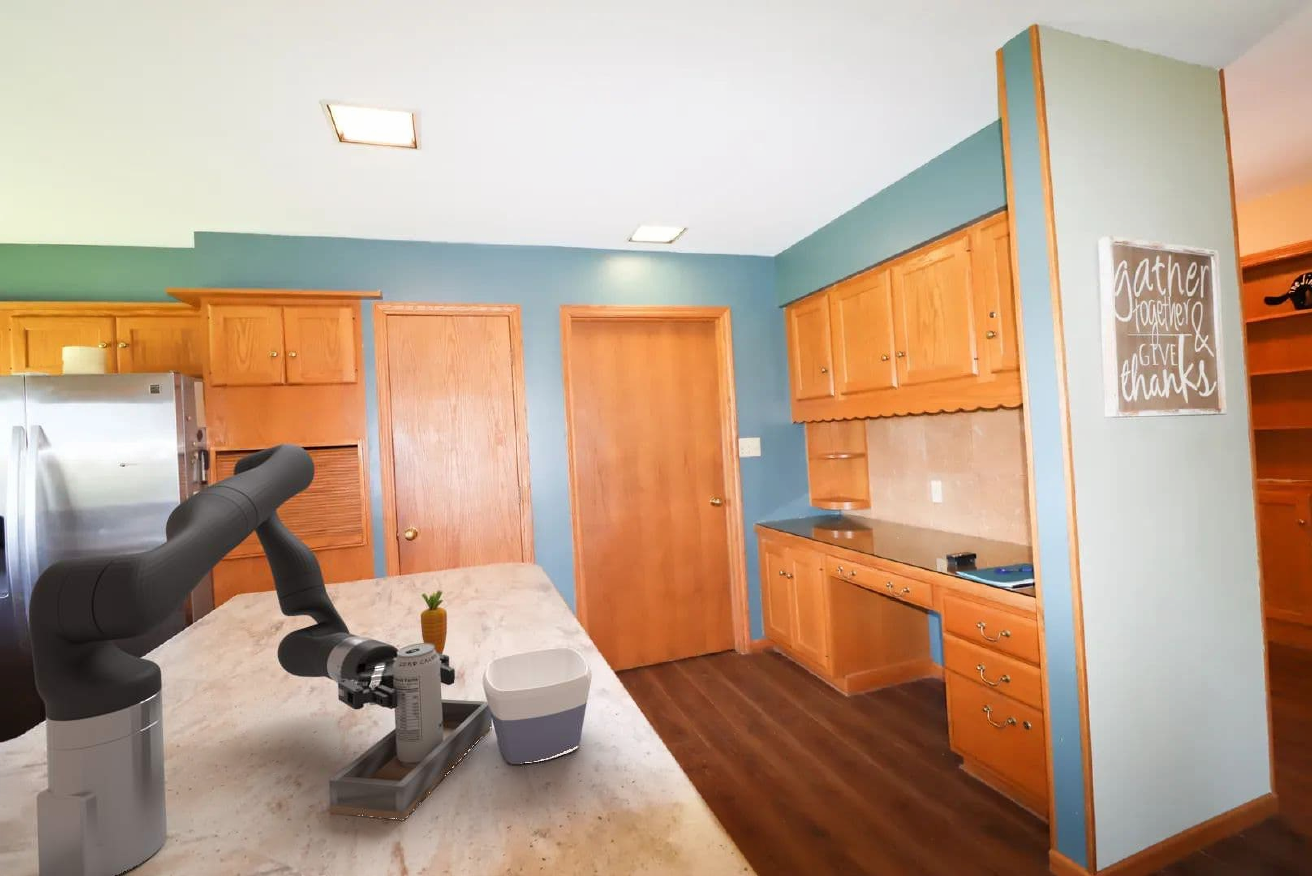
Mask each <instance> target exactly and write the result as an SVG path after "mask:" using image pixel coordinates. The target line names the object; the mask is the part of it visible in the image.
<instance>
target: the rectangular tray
mask: <svg viewBox="0 0 1312 876" xmlns="http://www.w3.org/2000/svg"><path fill="white" fill-rule="evenodd" d="M442 719H443V740H444V741H443V742H442V743H441V744H440V745H439V746H438V747H436V748H435V749H434V750H433V751H432V752H431V753H430V754H429V755H428V756H427V757H426V758H425V759H424V760H423V761H422V762H421V763H420V764H418V765H417V766H416V767H406V766H404V765H403V764H402V761H400V760H399V759H398V758H397V747H396V727H395V728H394V729H393V730H391V731H390V732H388V733H387V734H386V735H385V736H384V737H383V738H381V739H380V740H378V741H377V742H376V743H375V744H374V745H372V746H370V748H369V749H368V750H366V751H365V752H364V753H362V754H361V755H360V756H358V757H357V758H356V759H354V761H352V762H351V763H350V764H348V765H347V766H345V768H344V769H341V770H340V772H338V773H336V775H334V776H333V777H331V779H329V781H328V783H329V809H330V810H329V812H330V814H332V815H339V816H340V815H342V816H350V815H360V816H359V817H361V816H362V815H363V816H373V817H381V818H380V819H382V818H395V819H396V818H397V819H405V818H406V817H407V816H408V815H409V814H410V813H411V812H412V811H413V809H415V807H416V806H417V805H419V803H420V802H421V801H422V800H423V799H424V798H425V797H426V796H427V795H428V794H429V792H431V791H432V789H434V788H435V787H436V785H438V786H439V784H440V783H441V782H442V781H443V780H444V779H445V778H446V777H445V775H447V773H448V772H449V771H450V770H451V769H452V767H453V766H455V765H456V763H457V762H458V761H459V760H460V759H461V758H462V757H463V756H464V754H465V753H467V752H468V750H469V749H471V748H472V746H473V745H475V743H476V742H477V741H478V740H479V739H480V738H481V737H482V736H484V734H485V733H486V732H487V731H488V730H489V729H490V727H492V728H493V721H492V717H491V713H490V709H489V706H488V702H487V701H485V700H484V701H479V700H461V699H460V700H459V699H445V698H444V699H443V698H442ZM490 730H491V729H490ZM490 730H489V731H490ZM489 731H488V732H489ZM488 732H487V733H488ZM487 733H486V734H487ZM486 734H485V735H486ZM484 737H485V736H484ZM475 746H476V745H475ZM472 749H473V748H472ZM472 749H471V750H472ZM456 766H457V765H456ZM456 766H455V767H456ZM447 776H448V775H447ZM444 777H445V778H444ZM443 778H444V779H443ZM442 779H443V780H442ZM441 780H442V781H441ZM440 781H441V782H440ZM439 782H440V783H439ZM438 783H439V784H438ZM436 788H437V787H436ZM436 788H435V789H436ZM435 789H434V790H435ZM432 792H433V791H432ZM432 792H431V793H432ZM429 795H430V794H429ZM429 795H428V796H429ZM428 796H427V797H428ZM427 797H426V798H427ZM426 798H425V799H426ZM425 799H424V800H425ZM424 800H423V801H424ZM419 806H420V805H419ZM415 810H416V809H415ZM413 812H414V811H413ZM413 812H412V813H413ZM412 813H411V814H412ZM411 814H410V815H411ZM410 815H409V816H410ZM409 816H408V817H409ZM408 817H407V818H408Z"/></svg>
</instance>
